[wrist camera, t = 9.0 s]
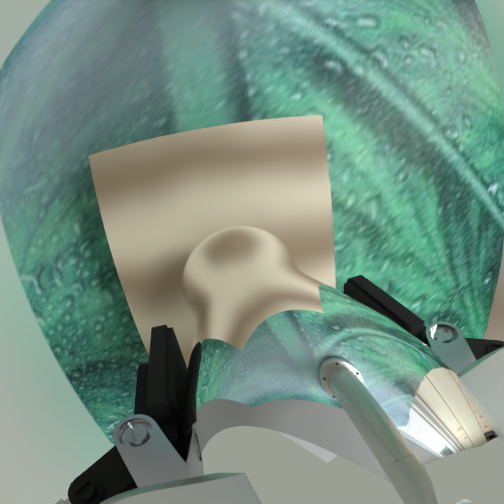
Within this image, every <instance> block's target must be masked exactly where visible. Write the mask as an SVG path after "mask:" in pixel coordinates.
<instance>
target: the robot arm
mask: <svg viewBox="0 0 504 504" xmlns="http://www.w3.org/2000/svg"><path fill="white" fill-rule="evenodd" d="M344 293H345V294H347V295H349V296H351V297H354V298H356V299H358V300H360V301H361V302H363V303H365V304H367V305H368V306H370V307H372V308H374V309H375V310H377V311H379V312H380V313H382V314H384V315H385V316H387V317H389V318H391V319H392V320H394V321H396V322H397V323H399V324H400V325H401V326H403V327H404V328H405V329H407V330H408V331H409V332H410V333H412V334H413V335H414V336H416V337H417V338H418V339H420V340H421V341H422V342H423V343H425V344H426V345H427V346H429V347H430V348H431V349H432V350H434V351H435V352H436V353H437V354H438V355H440V356H441V357H442V358H443V359H444V360H445V361H446V362H447V363H448V364H449V365H450V366H451V367H452V368H453V369H455V370H456V371H457V372H458V379H459V380H460V381H461V382H462V383H463V384H464V385H465V387H466V388H467V389H468V390H469V391H470V393H471V394H472V395H473V396H474V397H475V398H476V400H477V401H478V402H479V403H480V404H481V406H482V407H483V408H484V409H485V410H486V412H487V413H488V414H489V415H490V417H491V418H492V419H493V421H494V422H495V423H496V425H497V426H498V428H499V429H500V430H501V432H502V433H503V435H504V342H503V341H498V340H486V339H473V338H464V336H463V334H462V333H461V331H460V330H459V328H458V327H457V326H455V325H454V324H451V323H448V322H435V323H432V324H430V325H429V326H428V327H427V328H426V327H425V326H424V325H423V324H424V321H423V320H422V319H420V318H419V317H418V316H416V315H415V314H414V313H412V312H411V311H410V310H408V309H407V308H406V307H404V306H403V305H402V304H400V303H399V302H398V301H396V300H395V299H394V298H392V297H391V296H390V295H388V294H387V293H386V292H384V291H383V290H381V289H380V288H379V287H377V286H376V285H375V284H373V283H372V282H371V281H369V280H368V279H366V278H365V277H364V276H362V275H359V276H356V277H352V278H349V279H348V280H347V283H345V284H344ZM187 371H188V369H187V366H186V363H185V360H184V358H183V355H182V352H181V349H180V346H179V343H178V341H177V338H176V335H175V332H174V329H173V327H170V328H168V327H167V325H166V324H165V325H161V326H156V327H152V329H151V340H150V352H149V363H145V364H140V365H139V367H138V375H137V385H136V397H135V410H134V415H131V416H128V417H126V418H124V419H123V420H121V421H120V422H119V423H118V424H117V425H116V427H115V429H114V431H113V439H114V443H115V446H114V447H113V448H112V449H110V450H109V451H108V452H107V453H106V454H105V455H103V457H101V458H100V459H99V460H98V461H96V462H95V463H94V464H93V465H92V466H91V467H89V468H88V469H87V470H86V471H84V472H83V473H82V474H81V475H80V476H78V477H77V478H76V479H75V480H74V481H73V482H72V483H71V485H70V487H69V490H68V497H69V498H68V499H66V500H65V501H64V500H62V499H61V500H60V501H58V502H57V503H56V504H262V503H261V501H260V499H259V497H258V496H257V494H256V492H255V490H254V489H253V487H252V485H251V483H250V481H249V479H248V477H247V475H246V473H213V474H208V475H202V476H197V477H191V478H188V475H187V469H186V463H185V462H184V454H183V441H182V423H183V406H184V392H185V384H186V377H187Z"/></svg>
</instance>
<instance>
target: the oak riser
mask: <svg viewBox="0 0 504 504" xmlns="http://www.w3.org/2000/svg"><path fill="white" fill-rule="evenodd" d="M88 157H89V162H90V168H91V173H92V178H93V182H94V187H95V192H96V196H97V200H98V205H99V209H100V213H101V217H102V221H103V225H104V228H105V232H106V236H107V239H108V243H109V246H110V250H111V253H112V257H113V260H114V263H115V266H116V270H117V273H118V276H119V279H120V282H121V285H122V288H123V291H124V294H125V297H126V299H127V302H128V305H129V308H130V311H131V313H132V316H133V319H134V321H135V324H136V326H137V329H138V332H139V334H140V337H141V339H142V341H143V344H144V346H145V349H146V351H147V353H148V356H149V352H150V340H151V329H152V327H156V326H161V325H165V324H166V325H167V327H168V328H170V327H173V329H174V332H175V335H176V338H177V341H178V343H179V346H180V349H181V352H182V355H183V358H184V360H185V363H186V366H187V369H188V364H189V358H190V352H191V347H192V341H193V335H194V321H193V319H192V317H191V315H190V313H189V311H188V309H187V307H186V305H185V302H184V299H183V295H182V288H181V281H182V274H183V270H184V267H185V264H186V262H187V260H188V258H189V256H190V254H191V253H192V252H193V250H194V249H195V248H196V247H197V246H198V245H199V244H200V243H201V242H202V241H203V240H204V239H205V238H207V237H208V236H210V235H212V234H213V233H215V232H217V231H220V230H223V229H226V228H230V227H235V226H250V227H256V228H260V229H263V230H266V231H268V232H270V233H272V234H273V235H275V236H276V237H277V238H279V239H280V240H281V241H282V242H283V243H284V244H285V245H286V247H287V248H288V249H289V251H290V252H291V254H292V256H293V258H294V260H295V262H296V264H297V266H298V268H299V269H300V270H301V271H302V272H303V273H305V274H307V275H309V276H310V277H312V278H314V279H316V280H319V281H321V282H323V283H325V284H327V285H329V286H331V287H333V288H335V256H334V235H333V218H332V204H331V192H330V180H329V170H328V160H327V151H326V142H325V134H324V126H323V118H322V115H315V116H299V117H286V118H275V119H265V120H256V121H248V122H240V123H233V124H226V125H219V126H213V127H207V128H201V129H196V130H190V131H185V132H180V133H175V134H170V135H165V136H161V137H156V138H152V139H147V140H143V141H139V142H135V143H131V144H127V145H123V146H120V147H116V148H112V149H109V150H105V151H102V152H98V153H95V154H92V155H88Z"/></svg>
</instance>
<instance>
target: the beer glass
mask: <svg viewBox="0 0 504 504" xmlns="http://www.w3.org/2000/svg"><path fill="white" fill-rule="evenodd" d="M181 288H182V295H183V299H184V302H185V305H186V307H187V309H188V311H189V313H190V315H191V317H192V319H193V321H194V335H193V341H192V347H191V352H190V358H189V364H188V371H187V377H186V384H185V392H184V406H183V423H182V441H183V454H184V462H185V463H186V469H187V475H188V478H191V477H197V476H202V475H208V474H213V473H246V475H247V477H248V479H249V481H250V483H251V485H252V487H253V489H254V490H255V492H256V494H257V496H258V497H259V499H260V501H261V503H262V504H504V435H503V433H502V432H501V430H500V429H499V428H498V426H497V425H496V423H495V422H494V421H493V419H492V418H491V417H490V415H489V414H488V413H487V412H486V410H485V409H484V408H483V407H482V406H481V404H480V403H479V402H478V401H477V400H476V398H475V397H474V396H473V395H472V394H471V393H470V391H469V390H468V389H467V388H466V387H465V385H464V384H463V383H462V382H461V381H460V380H459V379H458V372H457V371H456V370H455V369H453V368H452V367H451V366H450V365H449V364H448V363H447V362H446V361H445V360H444V359H443V358H442V357H441V356H440V355H438V354H437V353H436V352H435V351H434V350H432V349H431V348H430V347H429V346H427V345H426V344H425V343H423V342H422V341H421V340H420V339H418V338H417V337H416V336H414V335H413V334H412V333H410V332H409V331H408V330H407V329H405V328H404V327H403V326H401V325H400V324H399V323H397V322H396V321H394V320H392V319H391V318H389V317H387V316H385V315H384V314H382V313H380V312H379V311H377V310H375V309H374V308H372V307H370V306H368V305H367V304H365V303H363V302H361V301H360V300H358V299H356V298H354V297H351V296H349V295H347V294H345V293H343V292H341V291H339V290H337V289H335V288H333V287H331V286H329V285H327V284H325V283H323V282H321V281H319V280H316V279H314V278H312V277H310V276H309V275H307V274H305V273H303V272H302V271H301V270H300V269H299V268H298V266H297V264H296V262H295V260H294V258H293V256H292V254H291V252H290V251H289V249H288V248H287V247H286V245H285V244H284V243H283V242H282V241H281V240H280V239H279V238H277V237H276V236H275V235H273V234H272V233H270V232H268V231H266V230H263V229H260V228H256V227H250V226H235V227H230V228H226V229H223V230H220V231H217V232H215V233H213V234H212V235H210V236H208V237H207V238H205V239H204V240H203V241H202V242H201V243H200V244H199V245H198V246H197V247H196V248H195V249H194V250H193V252H192V253H191V254H190V256H189V258H188V260H187V262H186V264H185V267H184V270H183V274H182V281H181Z"/></svg>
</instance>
